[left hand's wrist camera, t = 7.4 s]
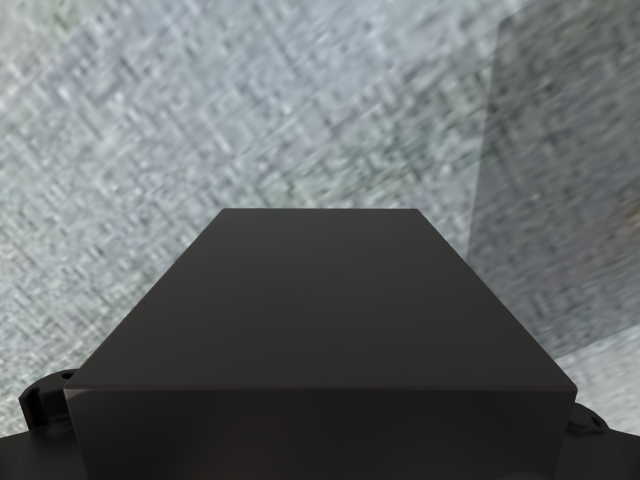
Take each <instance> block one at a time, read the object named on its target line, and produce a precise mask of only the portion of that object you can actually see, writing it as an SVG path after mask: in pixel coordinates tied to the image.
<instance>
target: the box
mask: <svg viewBox="0 0 640 480" xmlns="http://www.w3.org/2000/svg"><path fill="white" fill-rule="evenodd" d="M63 392H64V395H65V399H66V402H67V406H68V409H69V413H70V416H71V420H72V424H73V427H74V431H75V434H76V438H77V441H78V445H79V448H80V452H81V455H82V459H83V463H84V466H85V470H86V473H87V477H88V480H552V479H553V475H554V472H555V468H556V465H557V461H558V458H559V454H560V451H561V447H562V444H563V441H564V437H565V434H566V430H567V427H568V423H569V420H570V416H571V413H572V409H573V406H574V402H575V399H576V395H577V392H578V389H577V386H576V385H575V384H574V383H573V382H572V380H571V379H570V378H569V377H568V376H567V375H566V374H565V373H564V372H563V370H562V369H561V368H560V367H559V366H558V365H557V364H556V363H555V362H554V360H553V359H552V358H551V357H550V356H549V355H548V354H547V353H546V351H545V350H544V349H543V348H542V347H541V346H540V345H539V344H538V343H537V341H536V340H535V339H534V338H533V337H532V336H531V335H530V334H529V333H528V331H527V330H526V329H525V328H524V327H523V326H522V325H521V324H520V323H519V321H518V320H517V319H516V318H515V317H514V316H513V315H512V314H511V313H510V311H509V310H508V309H507V308H506V307H505V306H504V305H503V304H502V302H501V301H500V300H499V299H498V298H497V297H496V296H495V295H494V294H493V292H492V291H491V290H490V289H489V288H488V287H487V286H486V285H485V284H484V282H483V281H482V280H481V279H480V278H479V277H478V276H477V275H476V274H475V272H474V271H473V270H472V269H471V268H470V267H469V266H468V265H467V264H466V262H465V261H464V260H463V259H462V258H461V257H460V256H459V255H458V253H457V252H456V251H455V250H454V249H453V248H452V247H451V246H450V245H449V243H448V242H447V241H446V240H445V239H444V238H443V237H442V236H441V235H440V233H439V232H438V231H437V230H436V229H435V228H434V227H433V226H432V225H431V223H430V222H429V221H428V220H427V219H426V218H425V217H424V216H423V215H422V213H421V212H420V211H419V210H418V209H267V208H224V209H222V210H221V212H220V213H219V214H218V215H217V216H216V217H215V218H214V219H213V220H212V222H211V223H210V224H209V225H208V226H207V227H206V228H205V229H204V230H203V232H202V233H201V234H200V235H199V236H198V237H197V238H196V239H195V240H194V242H193V243H192V244H191V245H190V246H189V247H188V248H187V249H186V250H185V252H184V253H183V254H182V255H181V256H180V257H179V258H178V259H177V260H176V262H175V263H174V264H173V265H172V266H171V267H170V268H169V269H168V270H167V272H166V273H165V274H164V275H163V276H162V277H161V278H160V279H159V280H158V282H157V283H156V284H155V285H154V286H153V287H152V288H151V289H150V290H149V292H148V293H147V294H146V295H145V296H144V297H143V298H142V299H141V300H140V302H139V303H138V304H137V305H136V306H135V307H134V308H133V309H132V310H131V312H130V313H129V314H128V315H127V316H126V317H125V318H124V319H123V320H122V322H121V323H120V324H119V325H118V326H117V327H116V328H115V329H114V330H113V332H112V333H111V334H110V335H109V336H108V337H107V338H106V339H105V340H104V342H103V343H102V344H101V345H100V346H99V347H98V348H97V349H96V350H95V352H94V353H93V354H92V355H91V356H90V357H89V358H88V359H87V360H86V362H85V363H84V364H83V365H82V366H81V367H80V368H79V369H78V370H77V372H76V373H75V374H74V375H73V376H72V377H71V378H70V379H69V380H68V382H67V383H66V384H65V385H64V387H63Z"/></svg>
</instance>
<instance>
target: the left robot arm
mask: <svg viewBox="0 0 640 480" xmlns="http://www.w3.org/2000/svg"><path fill="white" fill-rule="evenodd" d="M77 370H78V369H69V370H63V371H59V372H56V373H53V374H50V375H48V376H46V377H44V378H42V379H40V380H38V381H36V382H35V383H33V384H32V385H31V386H29V387H28V388H27V389H25V391H24V392H23V393H22V394H21V396H20V397H19V398H18V399H19V402H20V405H21V408H22V411H23V414H24V417H25V420H26V423H27V426H28V429H29V431H27V432H23V433H19V434H15V435H11V436H6V437H2V438H0V480H88V477H87V473H86V470H85V466H84V463H83V459H82V455H81V452H80V448H79V445H78V441H77V438H76V434H75V431H74V427H73V424H72V420H71V416H70V413H69V409H68V406H67V402H66V399H65V395H64V392H63V387H64V385H65V384H66V383H67V382H68V380H69V379H70V378H71V377H72V376H73V375H74V374H75V373H76V372H77ZM552 480H640V436H637V435H632V434H628V433H624V432H620V431H616V430H612V429H610V428H609V427H608V425H607V424H606V422H605V421H604V420H603V419H602V418H601V417H600V416H598V415H597V414H596V413H595V412H594V411H592V410H590V409H588V408H587V407H585V406H583V405H581V404H579V403H576V402H574V406H573V409H572V413H571V416H570V420H569V423H568V427H567V430H566V434H565V437H564V441H563V444H562V447H561V451H560V454H559V458H558V461H557V465H556V468H555V472H554V475H553V479H552Z"/></svg>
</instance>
